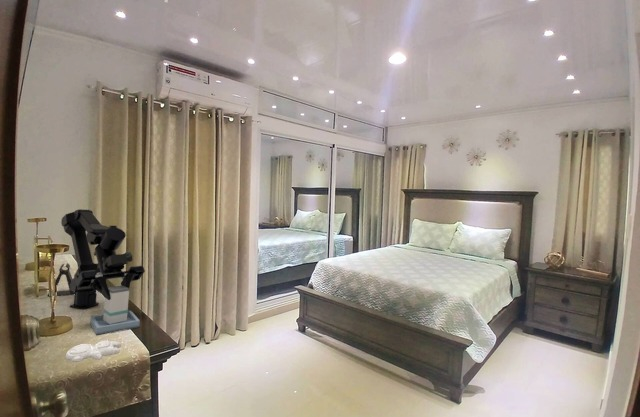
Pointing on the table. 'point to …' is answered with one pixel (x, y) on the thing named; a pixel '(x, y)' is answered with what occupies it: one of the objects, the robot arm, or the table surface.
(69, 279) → the phone stand
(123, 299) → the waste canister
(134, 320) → the drip tray
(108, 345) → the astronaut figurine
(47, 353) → the table surface
